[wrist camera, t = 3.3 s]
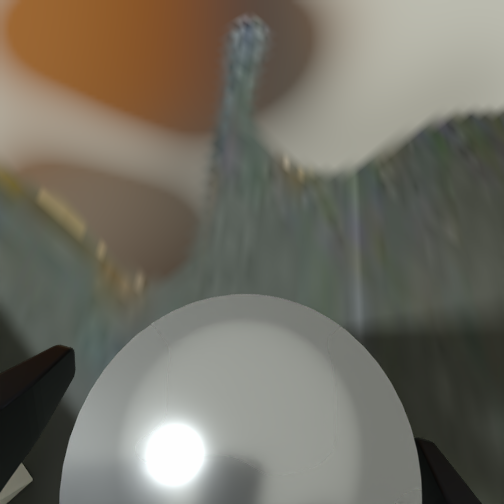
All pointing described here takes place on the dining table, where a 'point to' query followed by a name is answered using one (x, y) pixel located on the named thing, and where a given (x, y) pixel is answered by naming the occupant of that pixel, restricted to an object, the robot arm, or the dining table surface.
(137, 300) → the dining table surface
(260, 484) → the metal peg
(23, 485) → the bore plate
